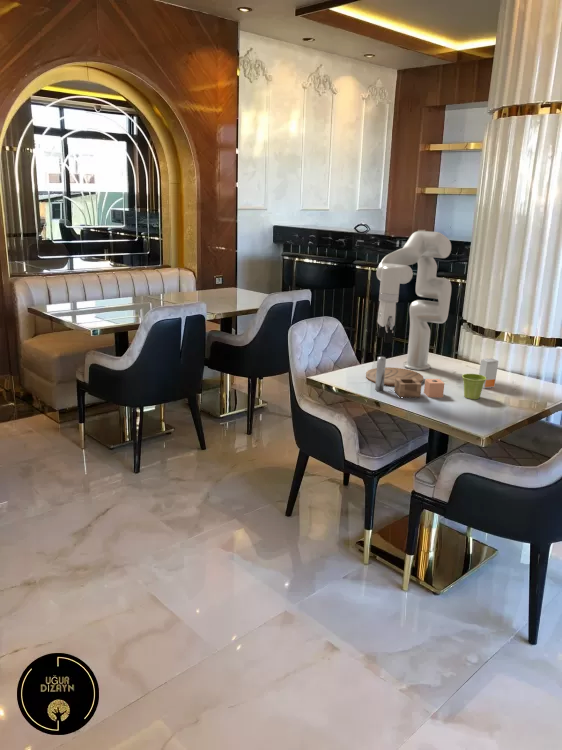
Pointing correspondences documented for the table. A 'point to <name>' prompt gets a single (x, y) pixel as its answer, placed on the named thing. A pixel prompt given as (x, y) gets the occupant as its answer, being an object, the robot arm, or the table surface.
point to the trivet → (393, 375)
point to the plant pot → (473, 385)
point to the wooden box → (407, 387)
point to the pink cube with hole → (434, 388)
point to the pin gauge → (380, 373)
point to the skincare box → (489, 371)
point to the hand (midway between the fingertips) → (385, 339)
